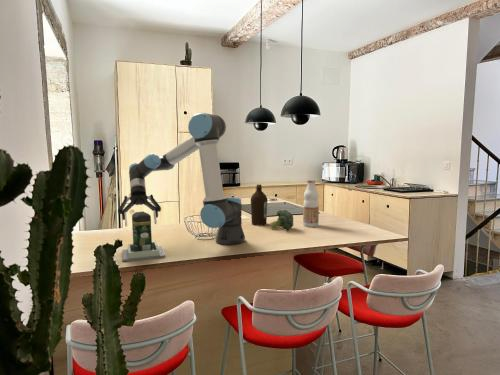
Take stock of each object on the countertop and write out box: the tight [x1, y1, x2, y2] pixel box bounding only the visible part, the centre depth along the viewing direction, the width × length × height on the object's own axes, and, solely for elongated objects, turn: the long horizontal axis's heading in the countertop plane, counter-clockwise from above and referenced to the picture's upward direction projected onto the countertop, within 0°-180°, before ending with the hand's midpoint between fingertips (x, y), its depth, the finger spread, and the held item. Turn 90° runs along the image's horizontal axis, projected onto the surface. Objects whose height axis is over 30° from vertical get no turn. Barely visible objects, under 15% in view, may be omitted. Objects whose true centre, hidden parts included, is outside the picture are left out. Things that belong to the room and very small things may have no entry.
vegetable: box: [269, 209, 294, 231], centre depth 211 cm, size 12×13×15 cm
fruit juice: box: [302, 179, 320, 228], centre depth 219 cm, size 9×9×28 cm
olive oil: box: [250, 184, 268, 226], centre depth 224 cm, size 11×11×25 cm
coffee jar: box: [131, 211, 153, 252], centre depth 161 cm, size 10×8×19 cm
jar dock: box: [121, 241, 166, 263], centre depth 162 cm, size 18×16×4 cm
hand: (141, 223), depth 171 cm, fingers open, 13 cm apart
